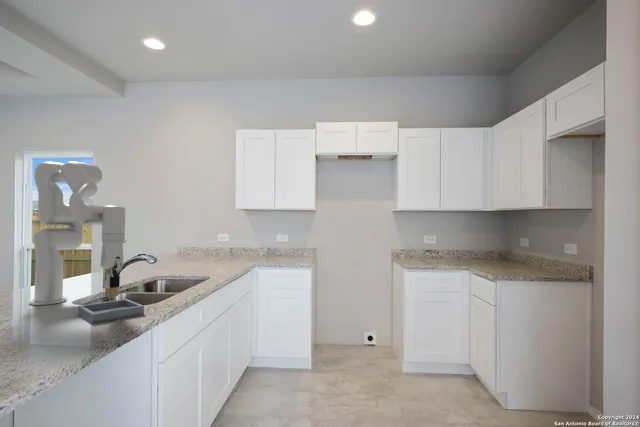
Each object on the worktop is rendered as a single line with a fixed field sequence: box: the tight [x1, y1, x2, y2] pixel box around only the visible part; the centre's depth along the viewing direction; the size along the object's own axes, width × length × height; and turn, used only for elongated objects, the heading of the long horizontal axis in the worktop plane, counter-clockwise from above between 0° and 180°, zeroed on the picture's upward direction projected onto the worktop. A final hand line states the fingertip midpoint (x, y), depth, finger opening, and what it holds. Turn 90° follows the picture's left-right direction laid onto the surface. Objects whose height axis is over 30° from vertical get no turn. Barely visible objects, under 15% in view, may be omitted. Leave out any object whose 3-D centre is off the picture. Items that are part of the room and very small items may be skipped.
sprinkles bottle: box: [104, 267, 119, 298], centre depth 130 cm, size 5×5×13 cm
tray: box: [77, 298, 145, 324], centre depth 130 cm, size 17×17×3 cm
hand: (112, 286), depth 130 cm, fingers closed on sprinkles bottle, 4 cm apart
